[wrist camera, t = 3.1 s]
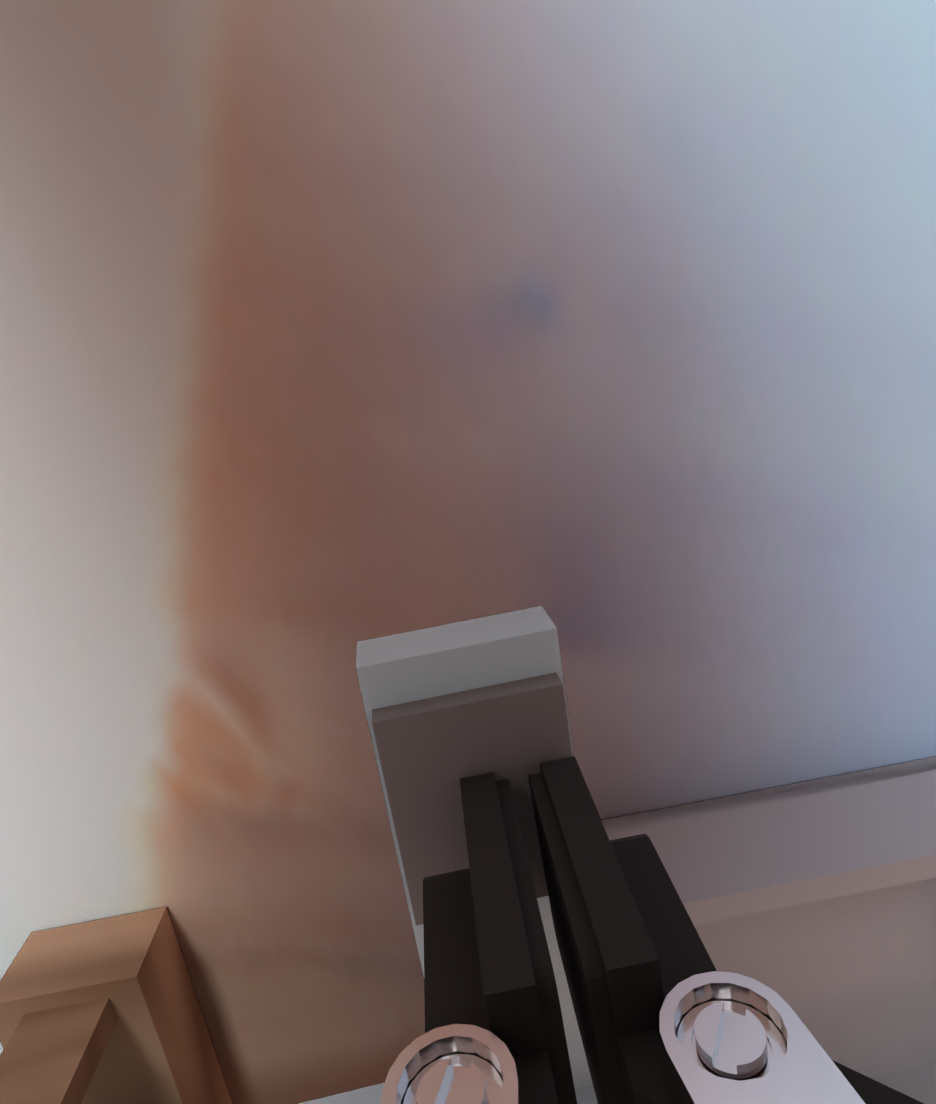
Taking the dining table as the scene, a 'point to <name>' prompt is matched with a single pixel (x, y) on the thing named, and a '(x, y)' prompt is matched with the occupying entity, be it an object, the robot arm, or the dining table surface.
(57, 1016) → the fulcrum
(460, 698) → the lever
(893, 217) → the dining table surface
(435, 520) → the dining table surface
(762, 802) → the dish
